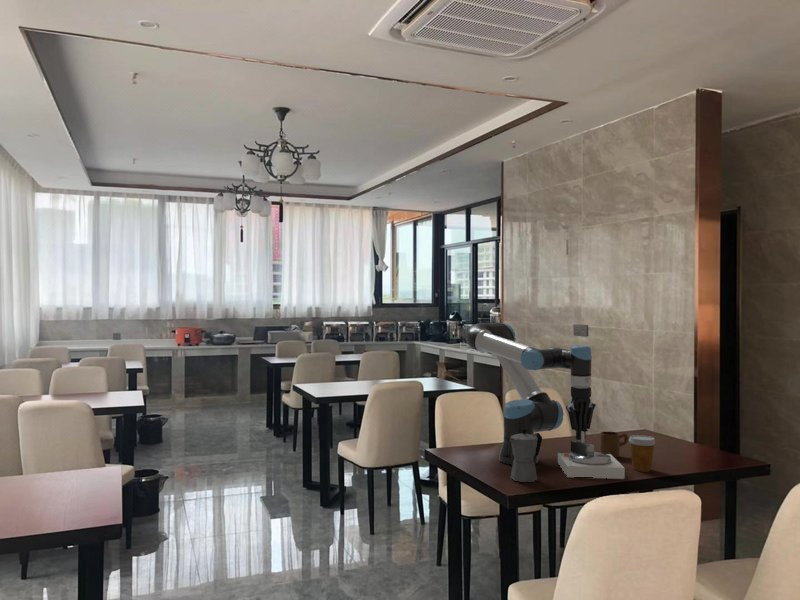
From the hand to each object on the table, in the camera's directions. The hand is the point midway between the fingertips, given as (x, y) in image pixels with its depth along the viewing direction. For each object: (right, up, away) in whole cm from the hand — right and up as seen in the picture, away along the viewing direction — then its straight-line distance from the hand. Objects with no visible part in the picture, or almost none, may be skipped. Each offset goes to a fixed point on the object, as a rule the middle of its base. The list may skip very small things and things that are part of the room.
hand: (580, 447), depth 244 cm
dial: (+2, -3, -5) cm, 6 cm away
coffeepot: (-24, -7, -18) cm, 31 cm away
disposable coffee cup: (+22, -8, -3) cm, 23 cm away
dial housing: (+2, -7, -6) cm, 9 cm away
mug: (+19, -7, +17) cm, 26 cm away
